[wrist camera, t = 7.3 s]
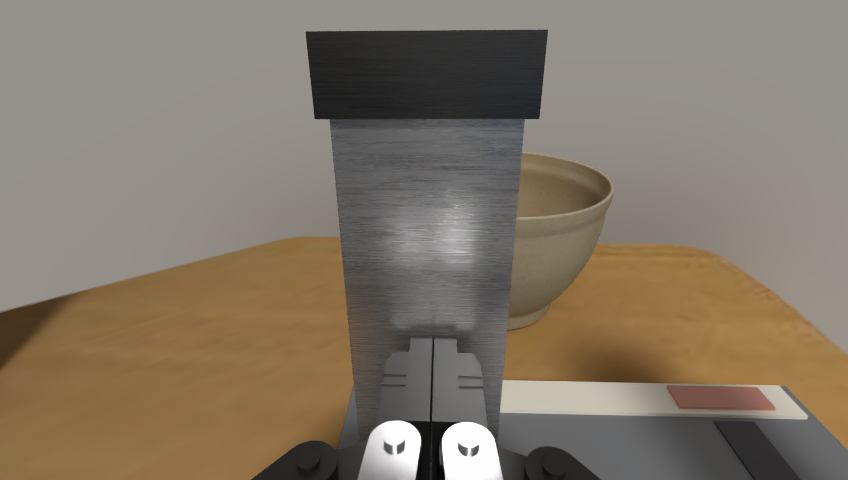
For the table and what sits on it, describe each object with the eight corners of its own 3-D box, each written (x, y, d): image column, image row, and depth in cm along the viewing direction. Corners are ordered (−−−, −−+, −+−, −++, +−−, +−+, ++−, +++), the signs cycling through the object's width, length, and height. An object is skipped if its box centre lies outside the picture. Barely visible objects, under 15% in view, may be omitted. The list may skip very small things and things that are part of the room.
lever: (502, 498, 17) (548, 29, 10) (354, 494, 17) (306, 31, 11) (492, 423, 20) (522, 30, 14) (368, 420, 20) (337, 31, 14)
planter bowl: (367, 278, 41) (359, 162, 37) (512, 245, 48) (520, 142, 43) (452, 392, 28) (456, 233, 24) (637, 325, 35) (668, 190, 30)
